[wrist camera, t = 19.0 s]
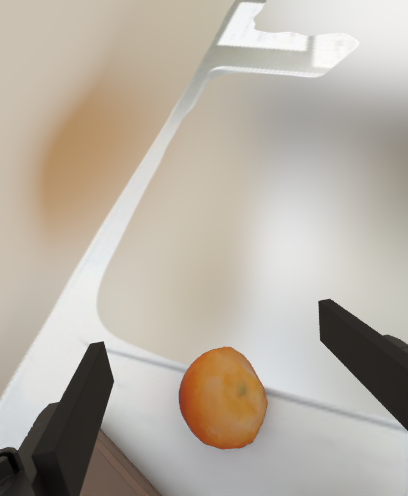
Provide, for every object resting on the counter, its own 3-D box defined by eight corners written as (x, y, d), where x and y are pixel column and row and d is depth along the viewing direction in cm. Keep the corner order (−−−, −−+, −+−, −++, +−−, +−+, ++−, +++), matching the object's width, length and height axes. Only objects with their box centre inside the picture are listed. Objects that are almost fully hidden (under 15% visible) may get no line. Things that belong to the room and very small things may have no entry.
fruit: (160, 361, 28) (195, 341, 23) (221, 358, 32) (265, 340, 26) (164, 457, 24) (209, 461, 18) (235, 440, 28) (290, 439, 22)
